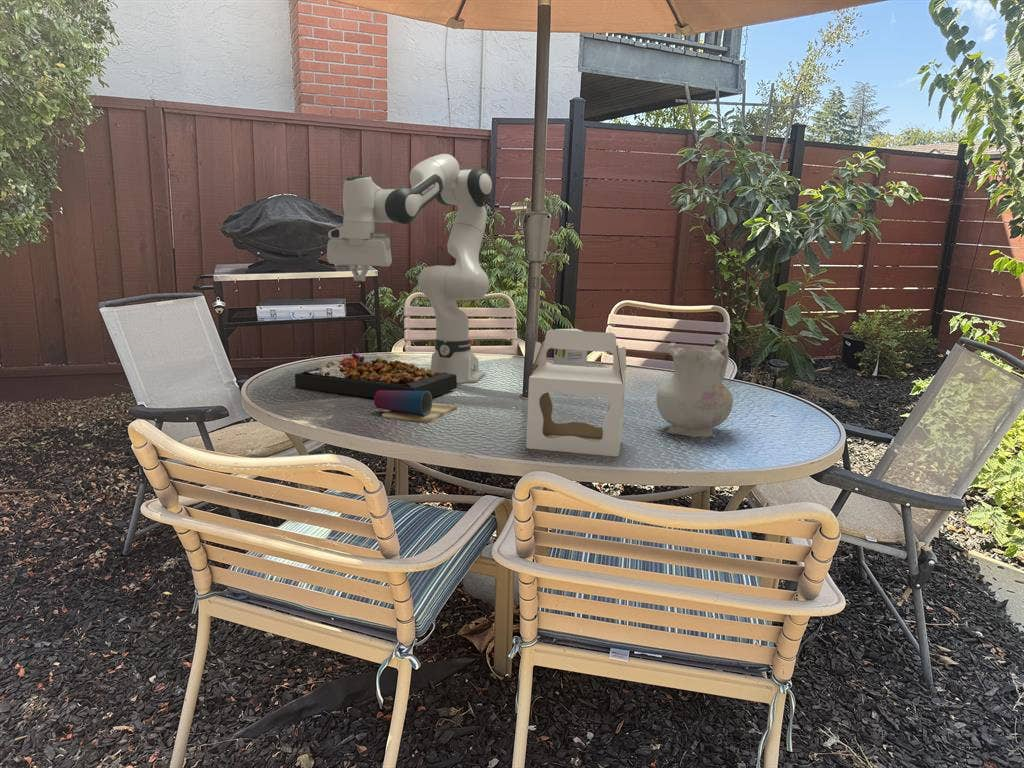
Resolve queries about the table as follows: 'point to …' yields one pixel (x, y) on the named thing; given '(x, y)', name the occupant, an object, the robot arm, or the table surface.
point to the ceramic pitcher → (696, 391)
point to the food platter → (373, 377)
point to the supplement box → (570, 355)
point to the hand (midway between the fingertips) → (359, 281)
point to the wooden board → (435, 413)
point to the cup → (404, 401)
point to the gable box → (577, 384)
